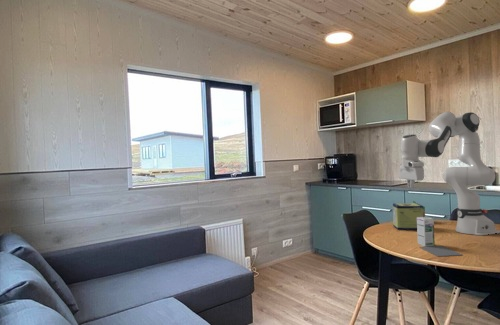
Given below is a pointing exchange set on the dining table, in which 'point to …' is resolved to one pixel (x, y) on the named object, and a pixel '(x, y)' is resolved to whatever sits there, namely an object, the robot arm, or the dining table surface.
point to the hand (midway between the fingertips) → (410, 187)
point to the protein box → (406, 215)
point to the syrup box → (425, 231)
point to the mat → (440, 251)
